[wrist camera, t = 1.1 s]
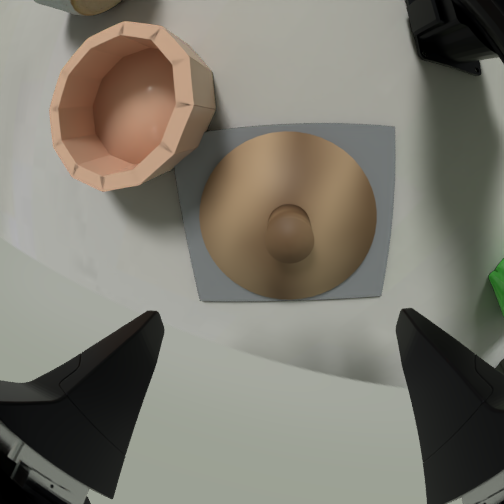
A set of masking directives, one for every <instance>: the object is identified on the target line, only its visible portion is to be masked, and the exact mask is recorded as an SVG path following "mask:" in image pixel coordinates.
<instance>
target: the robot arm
mask: <svg viewBox="0 0 504 504" xmlns="http://www.w3.org/2000/svg"><path fill="white" fill-rule="evenodd" d="M406 3H407V12H408V16H409V20H410V24H411V28H412V32H413V34H414V36H415V41H416V46H417V52H418V55H419V57H420V58H421V59H422V60H425V61H429V62H433V63H437V64H441V65H444V66H448V67H451V68H454V69H457V70H460V71H463V72H466V73H469V74H472V75H475V76H479V75H481V68H480V62H479V60H484V59H490V58H497V57H500V59H501V60H502V62H503V63H504V0H406ZM423 52H424V53H425V54H426V56H424V55H423ZM475 69H476V71H477V72H476V71H475ZM396 335H397V340H398V345H399V351H400V357H401V362H402V367H403V371H404V375H405V379H406V382H407V386H408V390H409V394H410V398H411V402H412V407H413V411H414V415H415V420H416V425H417V430H418V435H419V440H420V446H421V453H422V460H423V462H424V463H423V467H424V476H425V484H426V496H427V504H447V503H450V502H452V501H454V500H457V499H458V498H461V497H462V502H463V504H504V374H502V373H501V372H499V371H498V370H496V369H495V368H493V367H492V366H491V365H489V364H488V363H487V362H485V361H484V360H482V359H481V358H480V357H479V356H477V355H475V354H474V353H473V352H472V351H471V350H469V349H468V348H467V347H465V346H464V345H463V344H461V343H460V342H459V341H457V340H456V339H454V338H453V337H452V336H450V335H449V334H448V333H446V332H445V331H444V330H442V329H441V328H439V327H438V326H437V325H435V324H434V323H432V322H431V321H430V320H428V319H427V318H425V317H424V316H422V315H421V314H420V313H418V312H417V311H415V310H414V309H412V308H405V309H402V310H401V311H400V314H399V318H398V321H397V325H396ZM163 336H164V326H163V323H162V320H161V317H160V314H159V312H157V311H146V312H145V313H143V314H142V315H140V316H139V317H137V318H135V319H134V320H133V321H131V322H129V323H128V324H126V325H124V326H123V327H121V328H120V329H118V330H117V331H115V332H113V333H112V334H110V335H109V336H107V337H106V338H104V339H102V340H101V341H99V342H98V343H96V344H95V345H93V346H91V347H90V348H88V349H87V350H85V351H84V352H82V354H79V355H77V356H76V357H74V358H73V359H71V360H69V361H68V362H66V363H64V364H63V365H61V366H59V367H57V368H55V369H54V370H52V371H50V372H48V373H46V374H44V375H42V376H40V377H38V378H37V379H35V380H33V381H30V382H26V383H14V382H7V381H0V504H91V503H90V501H89V499H88V497H87V493H88V491H89V489H91V490H93V491H95V492H97V493H99V494H101V495H104V496H106V497H108V498H110V499H113V497H114V493H115V490H116V486H117V483H118V479H119V476H120V472H121V469H122V466H123V462H124V459H125V455H126V452H127V448H128V446H129V442H130V439H131V436H132V433H133V430H134V427H135V424H136V421H137V418H138V414H139V412H140V409H141V406H142V403H143V400H144V397H145V394H146V392H147V389H148V386H149V383H150V380H151V378H152V375H153V372H154V369H155V366H156V363H157V359H158V355H159V351H160V347H161V343H162V339H163Z"/></svg>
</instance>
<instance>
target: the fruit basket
mask: <svg viewBox="0 0 504 504" xmlns="http://www.w3.org/2000/svg"><path fill="white" fill-rule="evenodd" d="M489 280H490V282H491V285H492V287H493V290H494V292H495V295H496V297H497V300H498V303H499V306H500V308H501V311H502V314H503V317H504V259H503V260H502V261H501V262H500V263H499V264H498V266H497V267H496V269H495V271H493V272H492V273H490V275H489Z"/></svg>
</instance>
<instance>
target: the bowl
mask: <svg viewBox="0 0 504 504" xmlns="http://www.w3.org/2000/svg"><path fill="white" fill-rule="evenodd" d="M215 109H216V104H215V94H214V84H213V74H212V71H211V70H210V69H209V67H208V66H207V65H206V64H205V63H204V61H203V60H202V59H201V58H200V57H199V56H198V54H197V53H196V52H195V51H194V50H193V49H192V48H191V46H189V45H188V44H187V43H185V42H184V41H183V40H181V39H180V38H179V37H177V36H176V35H174V34H173V33H171V32H170V31H169V30H167V29H166V28H164V27H163V26H159V25H152V24H145V23H137V22H128V21H123V22H121V23H118V24H116V25H114V26H112V27H109V28H107V29H105V30H103V31H101V32H99V33H97V34H95V35H93V36H91V37H89V38H88V39H86V40H85V42H84V43H83V44H82V45H81V46H80V47H79V49H78V50H77V51H76V52H75V53H74V55H73V56H72V57H71V58H70V60H69V61H68V62H67V63H66V65H65V66H64V67H63V69H62V70H61V72H60V75H59V78H58V81H57V84H56V87H55V91H54V94H53V98H52V101H51V105H50V110H49V112H50V124H51V133H52V141H53V147H54V149H55V151H56V153H57V154H58V156H59V157H60V159H61V161H62V162H63V164H64V165H65V167H66V168H67V170H68V172H69V173H70V175H71V176H72V177H73V178H75V179H77V180H79V181H81V182H83V183H85V184H87V185H89V186H91V187H94V188H96V189H98V190H100V191H102V192H105V191H110V190H115V189H121V188H126V187H132V186H138V185H141V184H143V183H145V182H147V181H149V180H151V179H153V178H155V177H157V176H159V175H161V174H163V173H166V172H168V171H170V170H172V169H173V168H174V166H175V165H176V164H178V163H179V162H180V161H181V160H182V159H184V158H185V157H186V156H187V155H189V154H190V153H191V152H192V151H194V150H195V149H196V148H197V147H198V146H199V143H200V141H201V139H202V136H203V134H204V132H206V131H207V129H208V127H209V124H210V122H211V120H212V118H213V115H214V113H215V111H216V110H215Z"/></svg>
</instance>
